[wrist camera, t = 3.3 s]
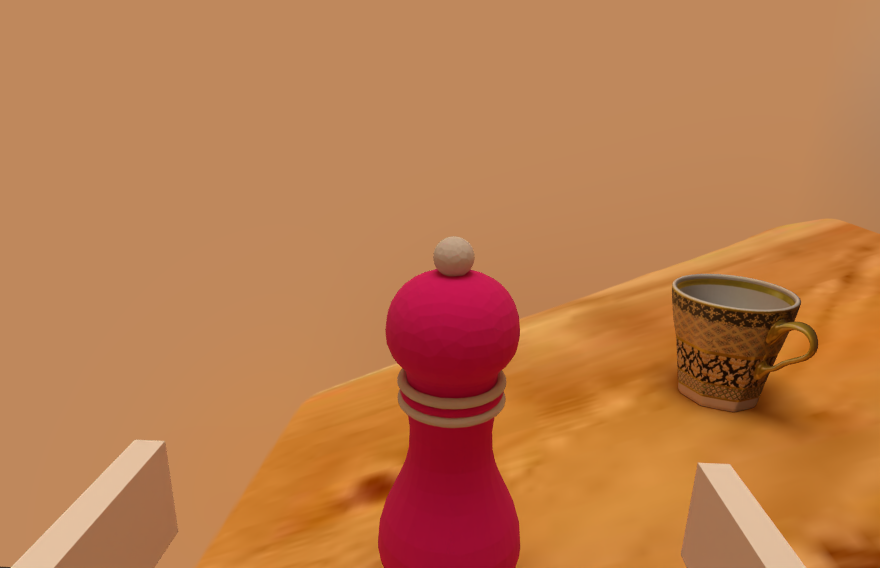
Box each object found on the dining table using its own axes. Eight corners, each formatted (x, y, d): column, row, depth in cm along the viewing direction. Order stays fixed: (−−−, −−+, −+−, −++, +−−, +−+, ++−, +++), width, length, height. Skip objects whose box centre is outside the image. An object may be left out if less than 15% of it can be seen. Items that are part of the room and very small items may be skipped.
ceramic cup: (635, 378, 55) (648, 279, 52) (714, 362, 59) (730, 269, 56) (748, 452, 44) (773, 331, 41) (838, 427, 47) (867, 314, 44)
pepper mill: (509, 552, 34) (528, 220, 28) (523, 667, 27) (553, 261, 21) (387, 549, 34) (380, 218, 28) (371, 663, 27) (356, 258, 21)
